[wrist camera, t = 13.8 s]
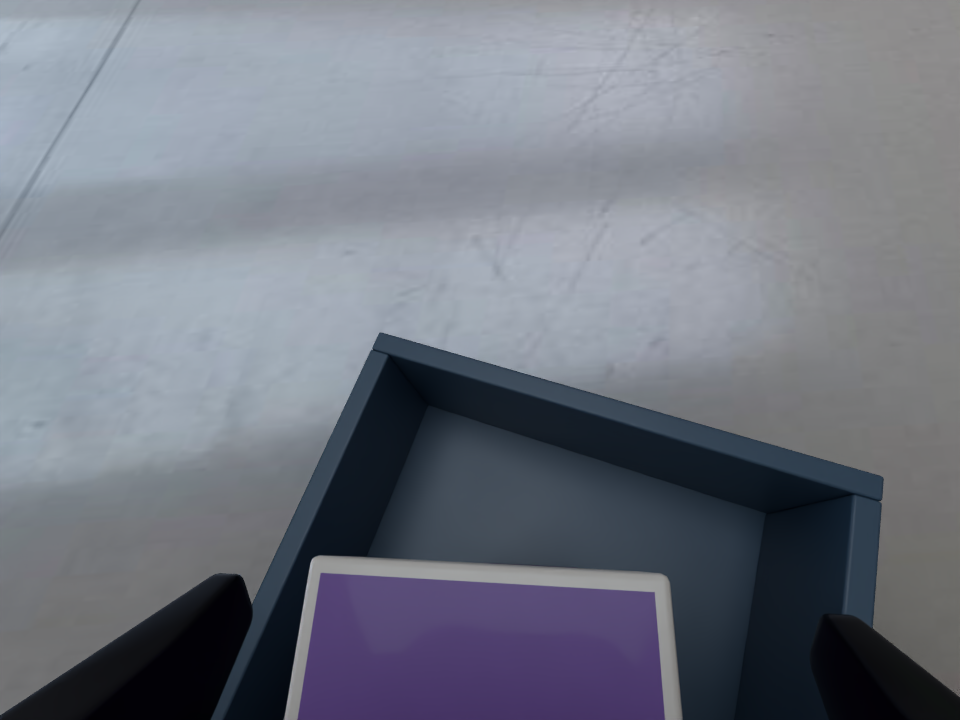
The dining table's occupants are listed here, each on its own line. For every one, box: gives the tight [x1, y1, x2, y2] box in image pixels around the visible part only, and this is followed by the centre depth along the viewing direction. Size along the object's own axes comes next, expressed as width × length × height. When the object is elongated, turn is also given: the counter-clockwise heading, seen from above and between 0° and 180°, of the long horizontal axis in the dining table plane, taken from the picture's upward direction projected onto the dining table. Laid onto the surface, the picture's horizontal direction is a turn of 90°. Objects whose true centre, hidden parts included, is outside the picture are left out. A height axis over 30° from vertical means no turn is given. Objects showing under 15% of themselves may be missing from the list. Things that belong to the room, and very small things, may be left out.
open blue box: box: [211, 333, 884, 720], centre depth 13 cm, size 13×13×6 cm
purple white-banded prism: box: [284, 555, 683, 720], centre depth 9 cm, size 4×3×13 cm
